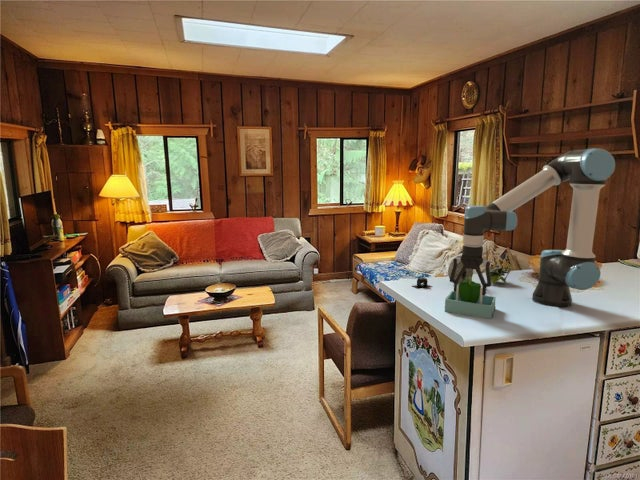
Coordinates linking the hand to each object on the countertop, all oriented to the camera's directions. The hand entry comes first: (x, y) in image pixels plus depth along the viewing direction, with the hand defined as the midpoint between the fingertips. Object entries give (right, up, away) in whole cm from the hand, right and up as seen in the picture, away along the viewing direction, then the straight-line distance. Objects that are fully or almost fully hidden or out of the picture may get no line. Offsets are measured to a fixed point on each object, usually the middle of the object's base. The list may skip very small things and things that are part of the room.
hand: (468, 301), depth 165 cm
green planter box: (+1, -4, 0) cm, 4 cm away
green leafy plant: (+31, +2, +44) cm, 54 cm away
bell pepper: (0, -1, 0) cm, 0 cm away
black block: (-9, +1, +38) cm, 39 cm away
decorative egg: (+10, +2, +41) cm, 42 cm away
